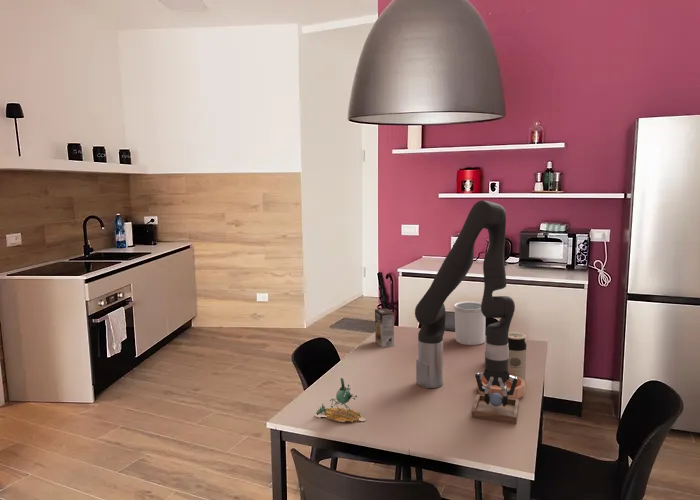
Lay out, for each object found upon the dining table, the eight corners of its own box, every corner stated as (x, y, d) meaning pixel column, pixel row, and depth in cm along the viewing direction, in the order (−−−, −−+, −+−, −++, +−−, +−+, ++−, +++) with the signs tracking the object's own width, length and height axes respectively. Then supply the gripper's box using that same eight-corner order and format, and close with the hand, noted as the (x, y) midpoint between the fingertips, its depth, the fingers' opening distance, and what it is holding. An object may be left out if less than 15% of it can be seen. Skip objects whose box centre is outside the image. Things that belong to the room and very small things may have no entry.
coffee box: (374, 341, 250) (374, 309, 248) (387, 340, 252) (387, 307, 249) (381, 347, 241) (381, 313, 239) (394, 346, 243) (394, 312, 241)
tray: (516, 424, 165) (516, 417, 165) (471, 417, 170) (471, 410, 170) (518, 405, 178) (519, 399, 178) (477, 400, 183) (477, 394, 183)
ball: (497, 409, 171) (496, 397, 170) (486, 405, 175) (486, 393, 174) (506, 405, 173) (505, 393, 173) (495, 401, 177) (495, 389, 177)
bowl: (523, 403, 180) (523, 392, 179) (474, 397, 186) (475, 386, 185) (525, 385, 195) (525, 375, 194) (480, 380, 201) (480, 370, 200)
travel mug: (506, 375, 205) (507, 331, 203) (527, 378, 201) (528, 333, 199) (501, 382, 198) (502, 336, 196) (522, 386, 194) (524, 339, 192)
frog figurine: (322, 407, 181) (325, 367, 178) (370, 420, 174) (375, 379, 172) (310, 419, 172) (313, 377, 169) (360, 433, 166) (365, 390, 163)
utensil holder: (456, 345, 241) (456, 309, 239) (451, 336, 256) (451, 301, 254) (488, 345, 241) (489, 308, 238) (481, 335, 255) (482, 301, 253)
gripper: (520, 354, 172) (518, 402, 175) (476, 349, 178) (475, 397, 180) (518, 361, 165) (517, 412, 168) (473, 357, 171) (472, 406, 173)
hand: (495, 404), depth 174 cm, fingers open, 4 cm apart
